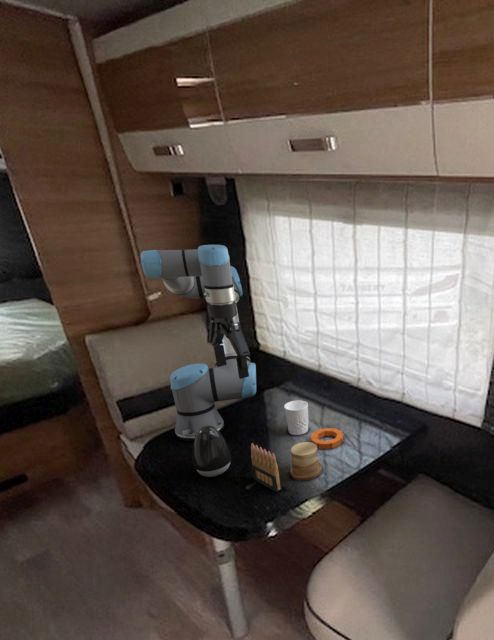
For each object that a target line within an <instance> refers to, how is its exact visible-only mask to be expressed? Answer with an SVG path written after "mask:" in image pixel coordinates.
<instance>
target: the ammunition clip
mask: <svg viewBox="0 0 494 640" xmlns="http://www.w3.org/2000/svg"><path fill="white" fill-rule="evenodd" d="M250 454H251V455H250V458H251V464H250V466H251V474H252V479H253V480H254V481H256V482H258V483H260V484H261V485H263V486H265V487H266V488H268V489H271V490H272V491H274V492H275V493H277V492H278V493H279V491H281V490H283V484H282V478H281V477H282V476H281V473H280V472H279V466H278V464H277V462H278V461H277V458H276V455H275V453H274V452H272V453H271V452H270V450H268V451H267V449H266V448H262V447H261V446H258V445H257V444H254V443H253V442H251V444H250Z"/></svg>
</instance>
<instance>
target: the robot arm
mask: <svg viewBox="0 0 494 640" xmlns="http://www.w3.org/2000/svg"><path fill="white" fill-rule="evenodd" d="M230 261H231V259H230V254H229V250H228V248H227V246H226V245H223V244H204V245H199V246H198V247H197V248H196V249H150V250H143V251H142V252H140V263H141V267H142V271H143V275H144V276H145V277H146V278H148V279H161V280H163V284H164V287H165V288H166V289H167V290H168V291H169V292H170V293H172V294H174V295H177V296H179V297H182V298H186V299H193V300H199V299H200V300H203V299H205V301H206V303H207V304H206V306H207V312H208V318H209V331H208V333H209V334H208V342H209V343H210V344H211V345H212V346H213V352H214V357H215V363H214V367H209V366H208V365H207V364H206V363H192V364H188V365H184V366H182V367H179V368H177V369H175V370H174V371H173V372H172V373H171V374H170V376H169V382H170V389H171V393H172V396H173V400H174V405H175V410H176V423H175V428H174V433H175V437H176V439H178V440H180V441H184V442H194V439H195V436H196V433H197V432H198V430H199V429H200V428H201V427H203V426H208V425H209V426H213V427H215V428H216V429H217V430H218V431H219V432H220V433H222V432H223V431H224V429H225V422H224V421H225V420H224V419H223V418H222V416H221V415H220V413H219V411H218V409H217V407H216V404H215V403H216V402H223V401H231V400H238V399H239V400H240V399H246V398H249V397H253V396H255V395H256V393H257V366H256V365H257V364H256V363H255V362H251V359H250V356H251V351H250V349H249V347H248V344H247V341H246V339H245V335H244V333H243V330H242V326H241V323H240V318H239V313H238V307H237V303H238V302H239V301H240V297H242V296H243V288H242V284H241V279H240V275H239V273H238V271H237V269H236V268H235V267H234V266H232V265H231V262H230Z"/></svg>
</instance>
